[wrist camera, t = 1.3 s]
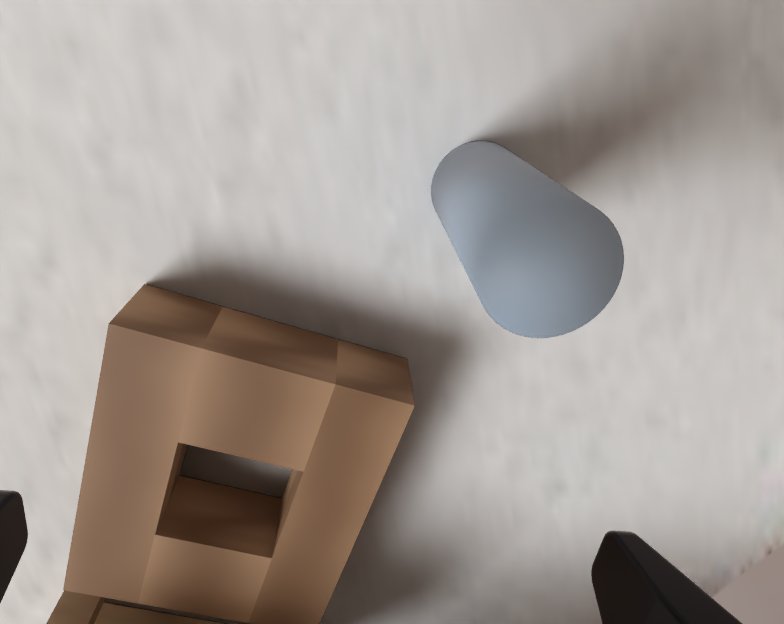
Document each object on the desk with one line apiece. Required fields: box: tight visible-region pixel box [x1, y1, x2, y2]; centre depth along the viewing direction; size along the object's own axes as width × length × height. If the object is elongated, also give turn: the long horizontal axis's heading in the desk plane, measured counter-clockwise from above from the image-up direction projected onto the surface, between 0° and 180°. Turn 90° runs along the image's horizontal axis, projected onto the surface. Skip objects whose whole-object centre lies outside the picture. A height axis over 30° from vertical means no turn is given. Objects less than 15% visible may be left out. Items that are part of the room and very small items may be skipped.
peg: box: [431, 141, 624, 338], centre depth 16 cm, size 3×3×8 cm
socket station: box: [47, 284, 415, 624], centre depth 20 cm, size 11×18×10 cm, turn 160°
